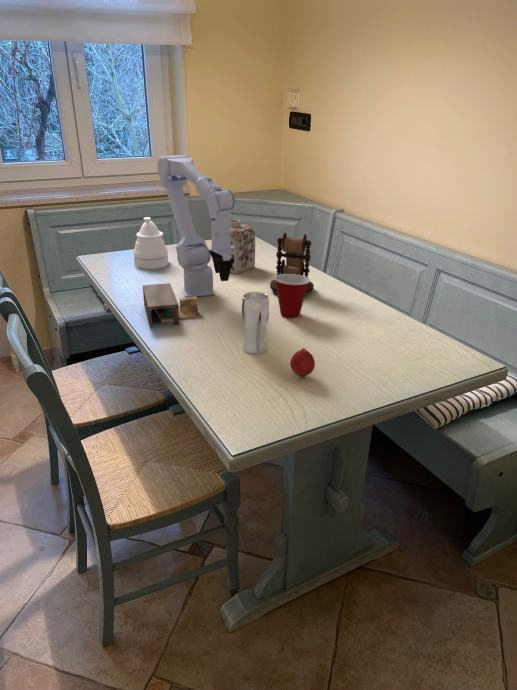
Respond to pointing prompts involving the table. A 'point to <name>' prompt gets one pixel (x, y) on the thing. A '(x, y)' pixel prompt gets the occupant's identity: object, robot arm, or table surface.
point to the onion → (302, 363)
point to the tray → (181, 310)
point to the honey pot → (150, 247)
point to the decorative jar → (242, 247)
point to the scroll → (293, 259)
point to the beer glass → (255, 321)
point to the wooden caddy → (160, 300)
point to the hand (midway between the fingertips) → (221, 276)
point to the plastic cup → (291, 293)
